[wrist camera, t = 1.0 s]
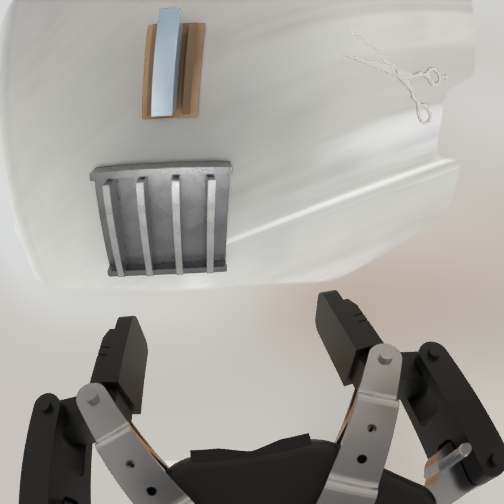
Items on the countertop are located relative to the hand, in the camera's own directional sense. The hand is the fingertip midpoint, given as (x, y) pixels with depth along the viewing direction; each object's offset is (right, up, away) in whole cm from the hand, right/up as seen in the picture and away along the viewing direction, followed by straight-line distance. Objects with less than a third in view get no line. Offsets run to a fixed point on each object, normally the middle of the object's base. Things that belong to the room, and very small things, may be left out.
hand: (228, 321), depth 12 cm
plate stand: (-7, +22, +12) cm, 26 cm away
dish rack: (-10, +7, +21) cm, 25 cm away
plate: (-7, +22, +11) cm, 25 cm away
